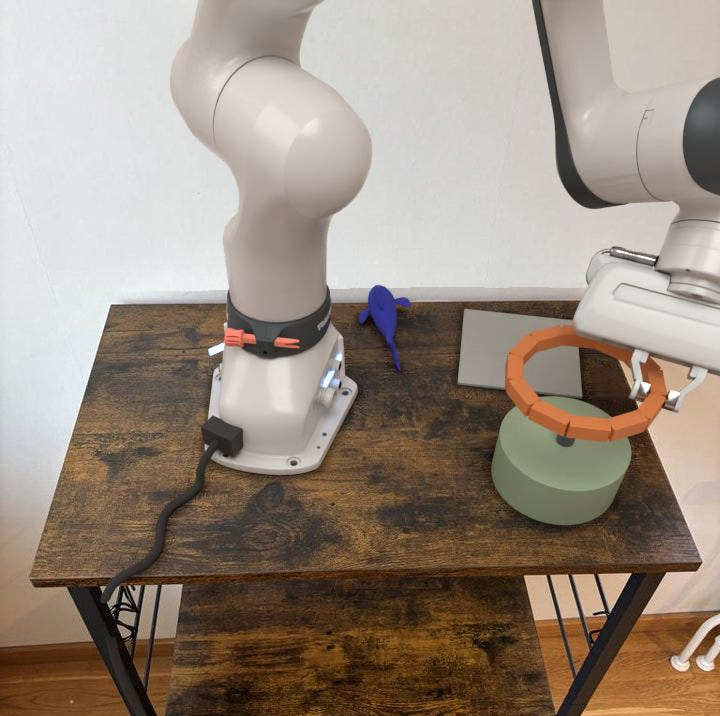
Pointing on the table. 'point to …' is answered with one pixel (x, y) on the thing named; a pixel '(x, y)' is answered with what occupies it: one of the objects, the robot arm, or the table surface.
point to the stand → (557, 467)
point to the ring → (572, 423)
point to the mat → (498, 336)
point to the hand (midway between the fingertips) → (653, 405)
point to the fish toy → (384, 314)
